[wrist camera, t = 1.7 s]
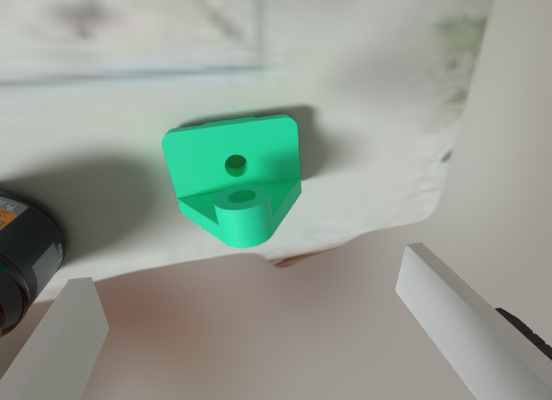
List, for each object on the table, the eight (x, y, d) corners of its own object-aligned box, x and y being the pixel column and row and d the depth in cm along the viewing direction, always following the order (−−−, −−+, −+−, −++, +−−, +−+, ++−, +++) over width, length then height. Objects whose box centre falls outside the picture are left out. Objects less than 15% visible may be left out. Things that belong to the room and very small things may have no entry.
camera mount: (290, 110, 28) (324, 136, 19) (295, 182, 32) (326, 232, 23) (163, 127, 27) (136, 163, 18) (183, 200, 30) (169, 262, 21)
